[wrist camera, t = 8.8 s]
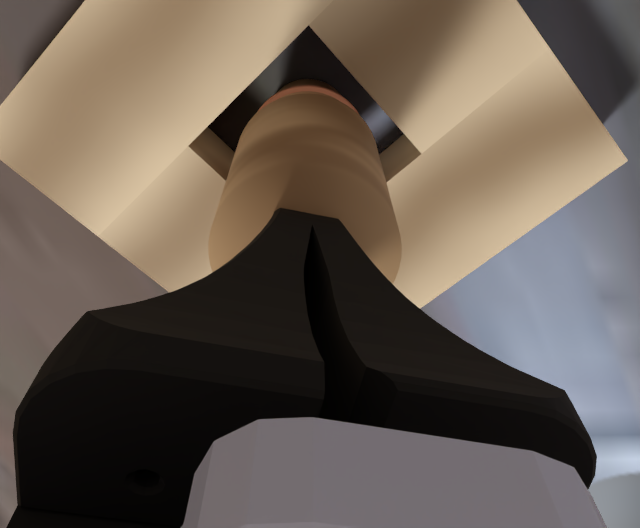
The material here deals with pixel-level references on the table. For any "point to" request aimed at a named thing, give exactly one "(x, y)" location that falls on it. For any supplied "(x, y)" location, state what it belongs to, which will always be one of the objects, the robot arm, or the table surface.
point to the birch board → (368, 69)
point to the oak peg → (307, 175)
